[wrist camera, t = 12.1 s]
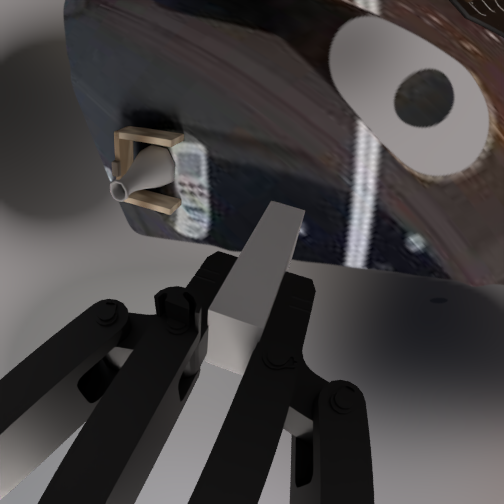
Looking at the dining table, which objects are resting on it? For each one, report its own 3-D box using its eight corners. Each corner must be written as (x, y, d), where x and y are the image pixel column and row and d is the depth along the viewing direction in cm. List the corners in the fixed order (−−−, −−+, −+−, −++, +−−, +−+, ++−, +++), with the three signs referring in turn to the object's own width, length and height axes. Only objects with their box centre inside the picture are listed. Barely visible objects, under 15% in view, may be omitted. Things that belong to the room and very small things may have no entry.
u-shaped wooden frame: (130, 191, 49) (115, 201, 46) (127, 125, 42) (110, 133, 38) (181, 204, 47) (167, 217, 44) (184, 134, 40) (168, 141, 37)
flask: (180, 186, 46) (144, 216, 38) (144, 186, 48) (107, 214, 40) (172, 142, 41) (131, 164, 34) (135, 146, 44) (93, 168, 36)
